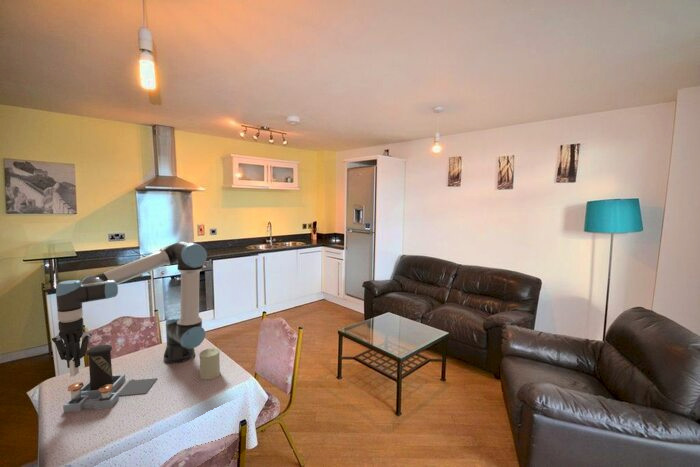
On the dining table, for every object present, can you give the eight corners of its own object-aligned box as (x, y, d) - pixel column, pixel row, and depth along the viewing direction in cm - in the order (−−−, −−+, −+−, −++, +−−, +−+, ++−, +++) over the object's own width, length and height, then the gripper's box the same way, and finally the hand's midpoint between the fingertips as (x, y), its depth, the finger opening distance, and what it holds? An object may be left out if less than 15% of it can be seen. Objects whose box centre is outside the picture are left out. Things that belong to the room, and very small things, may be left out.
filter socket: (125, 380, 150) (124, 374, 149) (110, 396, 137) (109, 390, 137) (94, 382, 147) (94, 376, 147) (76, 399, 135) (75, 393, 134)
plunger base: (118, 398, 135) (118, 392, 135) (111, 407, 130) (110, 401, 129) (73, 403, 132) (73, 396, 132) (63, 412, 126) (63, 405, 126)
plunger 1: (86, 396, 132) (85, 381, 132) (79, 403, 128) (78, 388, 127) (73, 397, 131) (72, 382, 131) (65, 404, 127) (64, 389, 126)
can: (223, 370, 160) (223, 347, 159) (214, 380, 151) (213, 356, 150) (206, 369, 161) (205, 346, 160) (196, 379, 152) (195, 355, 150)
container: (100, 396, 137) (98, 352, 135) (84, 393, 139) (81, 350, 137) (119, 385, 145) (116, 344, 144) (103, 382, 147) (100, 342, 145)
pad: (157, 378, 151) (157, 378, 151) (146, 393, 139) (146, 392, 139) (129, 381, 149) (129, 380, 149) (116, 396, 137) (115, 395, 137)
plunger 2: (116, 397, 135) (115, 383, 134) (110, 404, 130) (109, 390, 129) (103, 399, 134) (102, 384, 133) (96, 406, 129) (96, 391, 128)
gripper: (94, 315, 131) (98, 368, 133) (58, 316, 129) (62, 371, 131) (83, 321, 124) (86, 378, 126) (44, 323, 121) (49, 381, 123)
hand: (74, 374), depth 128 cm, fingers closed
